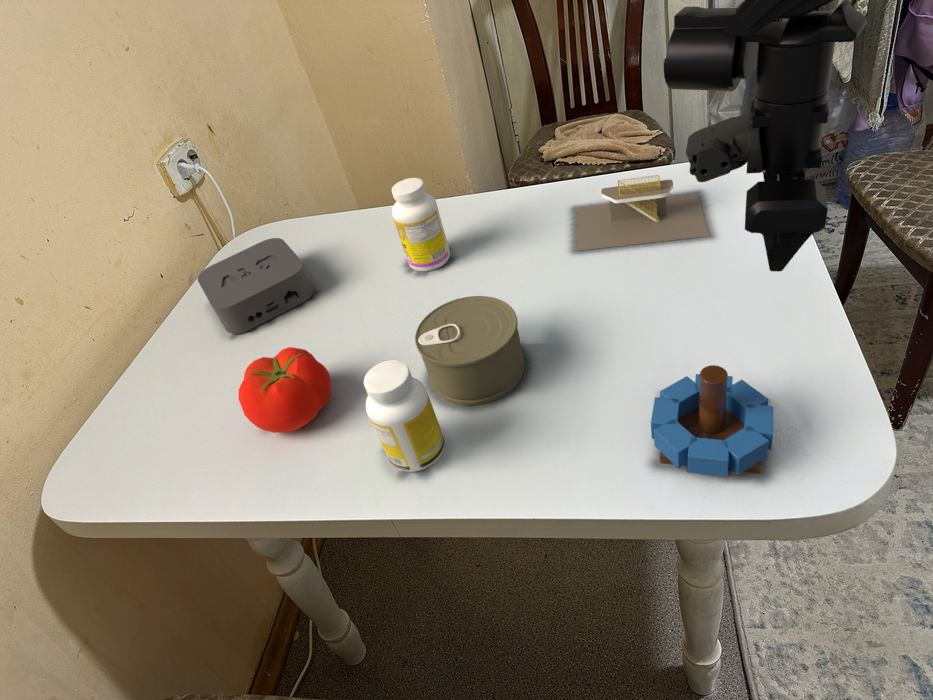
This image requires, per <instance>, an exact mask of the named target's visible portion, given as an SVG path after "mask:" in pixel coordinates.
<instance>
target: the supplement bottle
mask: <svg viewBox="0 0 933 700" xmlns="http://www.w3.org/2000/svg"><path fill="white" fill-rule="evenodd" d="M391 193H392V197H393V199H394V201H395V202H394V204H393V206H392V209H391V216H392V219H393V222H394V225H395V227H396V228H395V229H396V231H397V234H398V237H399V240H400V242H401V246H402V249H403V251H404V255H405V258H406V261H407V263H408V266H409V267H410V268H411V269H413V270H414V271H418V272H430V271H434V270H436V269H439V268H440V267H442V266H444V265H445V264H446V263H447V262H448V260H449V259H450V256H451V250H450V247H449V243H448V240H447V236H446V232H445V229H444V225H443V222H442V218H441V213H440V211H439V206H438V204H437V200H436V199H435V197H434V196H433V195H432V194H430V193H427V192H426V185H425V182H424V181H423V179H422V178H419V177H409V178H405V179H401V180H400V181H398V182H397V183H395V184H393V186H392V187H391Z"/></svg>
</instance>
